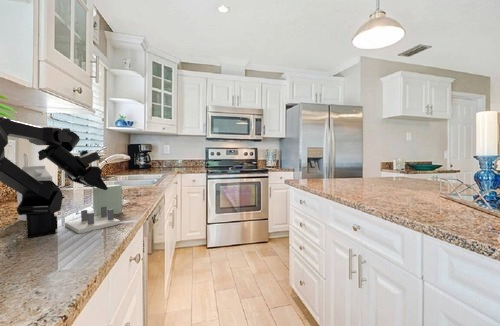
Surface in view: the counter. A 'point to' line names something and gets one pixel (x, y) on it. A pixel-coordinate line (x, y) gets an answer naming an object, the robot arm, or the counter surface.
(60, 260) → the counter surface
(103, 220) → the cabinet base
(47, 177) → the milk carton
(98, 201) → the grey upright panel
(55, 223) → the robot arm
